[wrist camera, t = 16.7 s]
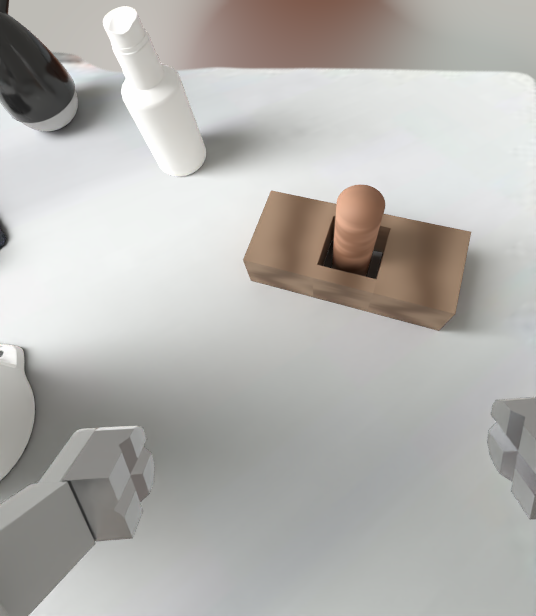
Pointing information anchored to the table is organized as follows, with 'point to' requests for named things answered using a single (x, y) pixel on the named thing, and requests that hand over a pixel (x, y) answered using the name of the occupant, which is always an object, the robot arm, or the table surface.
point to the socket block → (351, 287)
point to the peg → (356, 228)
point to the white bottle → (155, 96)
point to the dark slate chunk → (2, 238)
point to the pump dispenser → (33, 78)
